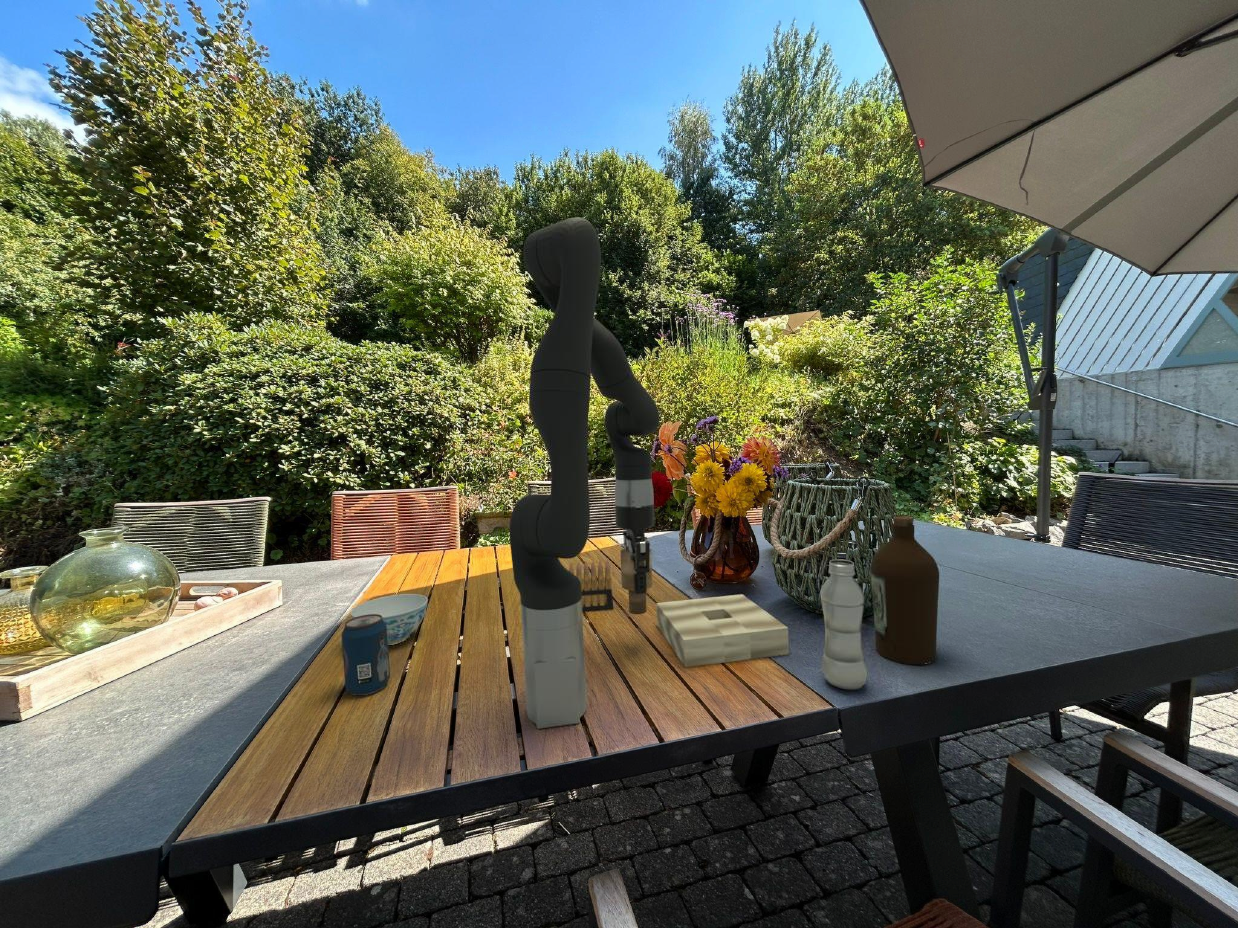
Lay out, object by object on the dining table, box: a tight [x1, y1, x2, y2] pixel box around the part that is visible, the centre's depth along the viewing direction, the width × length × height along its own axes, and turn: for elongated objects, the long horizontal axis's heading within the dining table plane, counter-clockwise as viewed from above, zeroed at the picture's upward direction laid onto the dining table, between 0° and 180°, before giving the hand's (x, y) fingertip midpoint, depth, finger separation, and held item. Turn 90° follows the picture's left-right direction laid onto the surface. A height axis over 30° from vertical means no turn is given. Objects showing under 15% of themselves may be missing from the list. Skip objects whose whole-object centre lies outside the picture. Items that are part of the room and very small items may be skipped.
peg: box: [620, 548, 653, 615], centre depth 93 cm, size 6×6×12 cm
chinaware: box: [349, 593, 429, 644], centre depth 103 cm, size 15×15×8 cm
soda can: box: [341, 614, 391, 696], centre depth 83 cm, size 7×7×12 cm
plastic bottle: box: [820, 559, 868, 691], centre depth 77 cm, size 6×7×20 cm
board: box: [656, 594, 790, 668], centre depth 97 cm, size 20×20×5 cm
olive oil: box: [870, 515, 940, 665], centre depth 86 cm, size 11×11×25 cm
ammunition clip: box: [568, 560, 614, 613], centre depth 116 cm, size 11×2×12 cm, turn 96°
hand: (637, 587), depth 93 cm, fingers closed on peg, 6 cm apart
